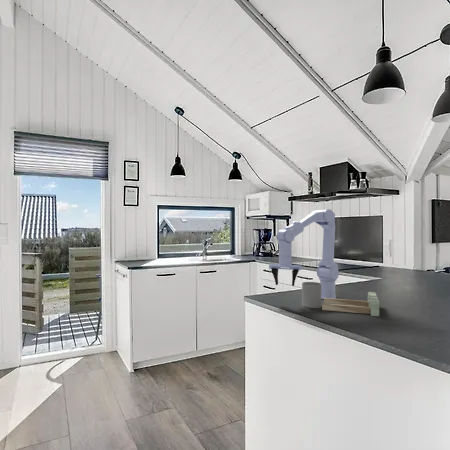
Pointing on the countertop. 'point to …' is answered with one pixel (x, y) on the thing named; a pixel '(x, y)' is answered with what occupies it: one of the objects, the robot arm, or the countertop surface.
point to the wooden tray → (353, 305)
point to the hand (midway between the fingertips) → (284, 285)
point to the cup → (311, 294)
